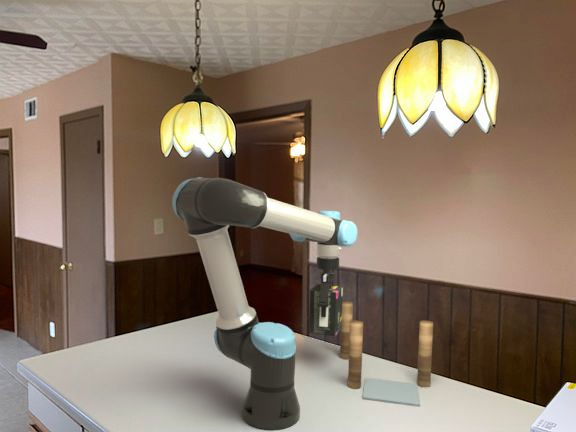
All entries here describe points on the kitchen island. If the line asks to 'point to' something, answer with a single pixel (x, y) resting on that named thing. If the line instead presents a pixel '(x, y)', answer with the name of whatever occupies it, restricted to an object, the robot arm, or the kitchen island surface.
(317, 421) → the kitchen island surface
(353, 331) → the post corner
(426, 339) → the post
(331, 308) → the tampon box
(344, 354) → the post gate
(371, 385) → the pad
